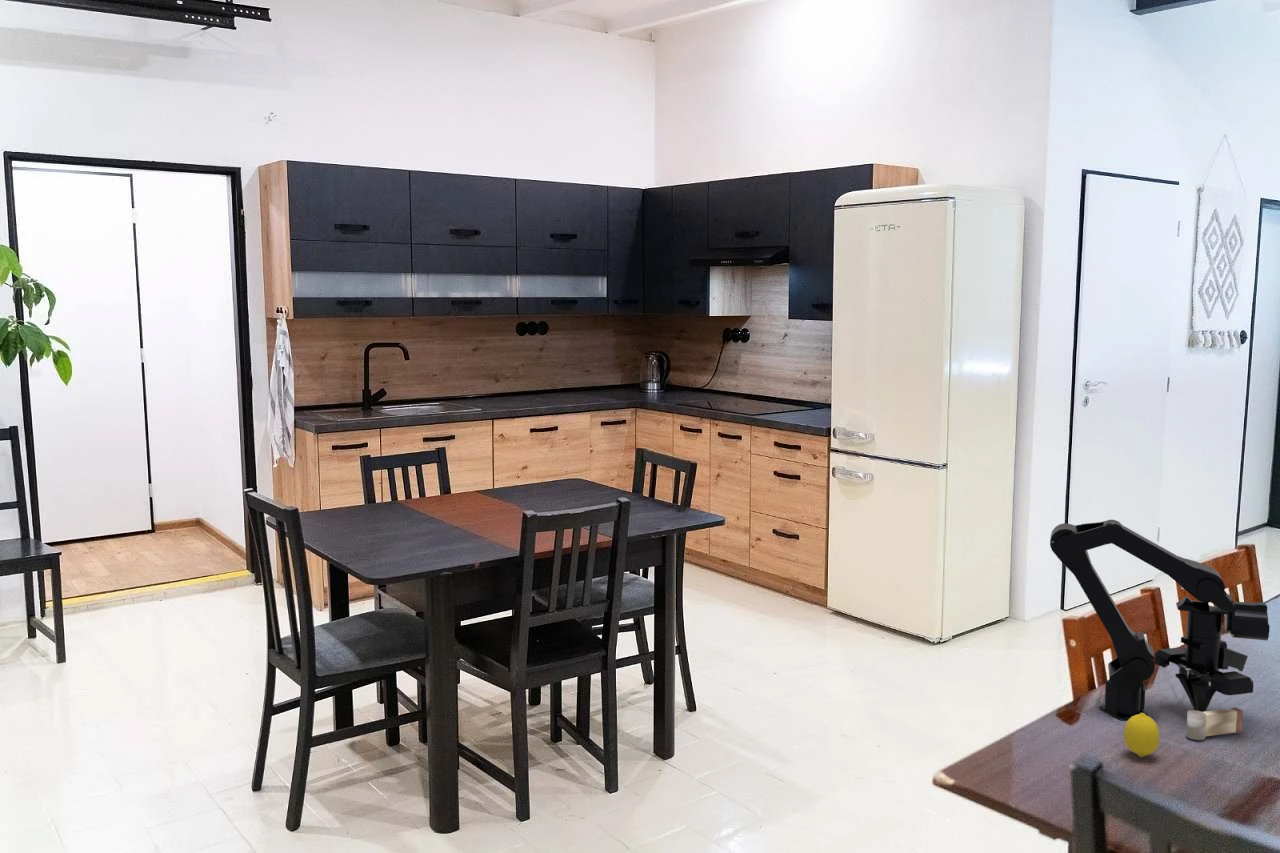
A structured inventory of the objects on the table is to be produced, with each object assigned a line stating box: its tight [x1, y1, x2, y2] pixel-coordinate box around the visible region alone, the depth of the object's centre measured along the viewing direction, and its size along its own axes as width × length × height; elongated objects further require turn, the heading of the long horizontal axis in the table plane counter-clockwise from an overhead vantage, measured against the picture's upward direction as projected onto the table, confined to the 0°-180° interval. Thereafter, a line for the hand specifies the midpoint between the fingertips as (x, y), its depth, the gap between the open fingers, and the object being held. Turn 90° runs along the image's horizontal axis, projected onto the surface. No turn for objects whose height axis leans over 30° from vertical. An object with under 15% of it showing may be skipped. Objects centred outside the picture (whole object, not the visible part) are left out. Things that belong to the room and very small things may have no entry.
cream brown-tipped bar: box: [1186, 706, 1244, 741], centre depth 189 cm, size 11×3×4 cm, turn 104°
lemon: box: [1123, 713, 1160, 758], centre depth 180 cm, size 6×6×8 cm
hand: (1199, 714), depth 195 cm, fingers closed
